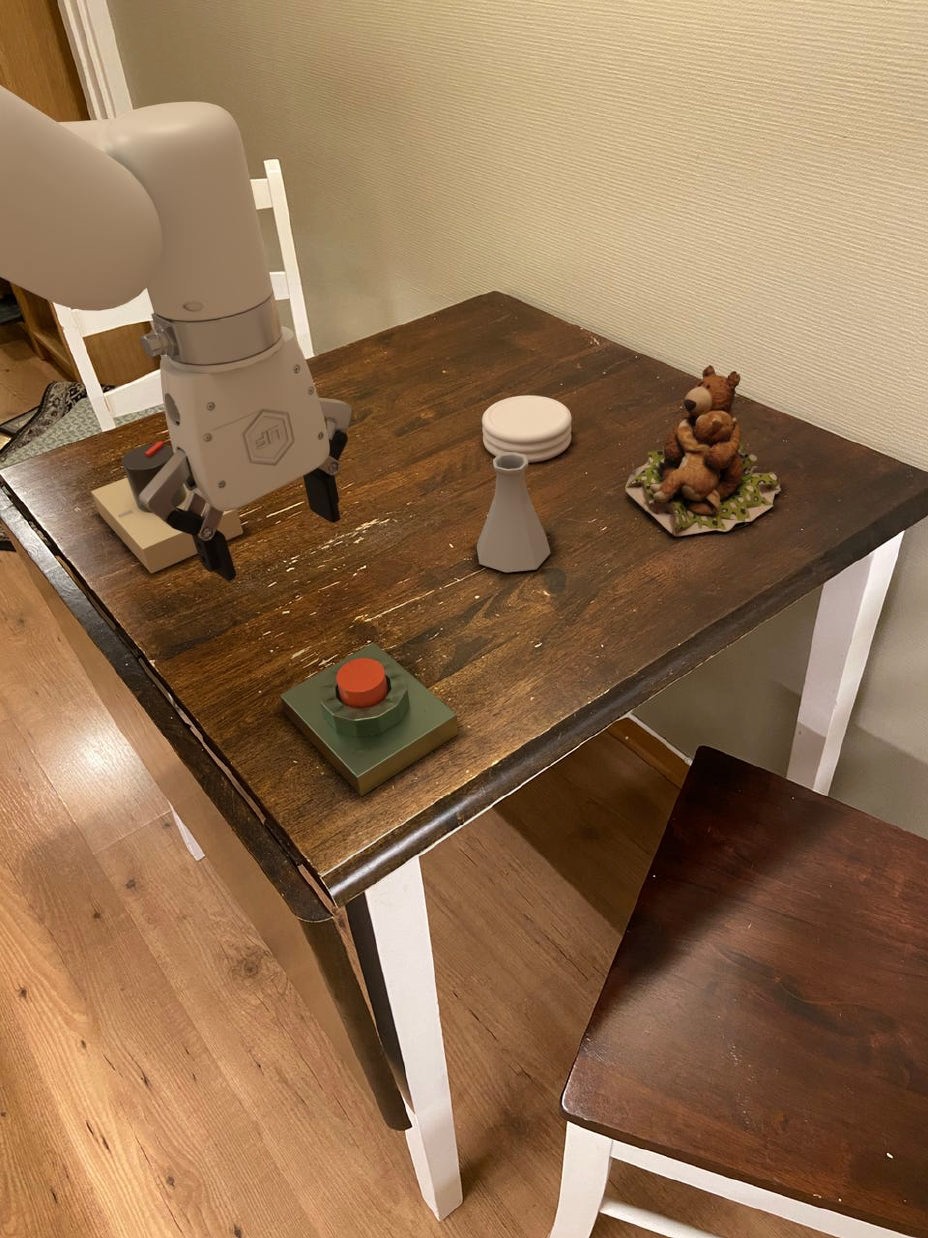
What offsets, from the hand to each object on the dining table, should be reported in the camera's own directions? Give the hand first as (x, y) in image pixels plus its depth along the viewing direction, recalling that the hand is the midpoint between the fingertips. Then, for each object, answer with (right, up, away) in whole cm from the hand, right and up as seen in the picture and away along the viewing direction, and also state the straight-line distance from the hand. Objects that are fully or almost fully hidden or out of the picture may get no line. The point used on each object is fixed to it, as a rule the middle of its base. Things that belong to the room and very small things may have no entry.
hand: (275, 543), depth 68 cm
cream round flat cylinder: (+22, +14, +33) cm, 42 cm away
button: (+7, -11, -1) cm, 13 cm away
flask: (+19, 0, +17) cm, 26 cm away
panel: (-16, +4, +24) cm, 30 cm away
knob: (-16, +6, +22) cm, 28 cm away
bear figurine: (+38, +7, +22) cm, 45 cm away
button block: (+7, -14, +1) cm, 16 cm away
